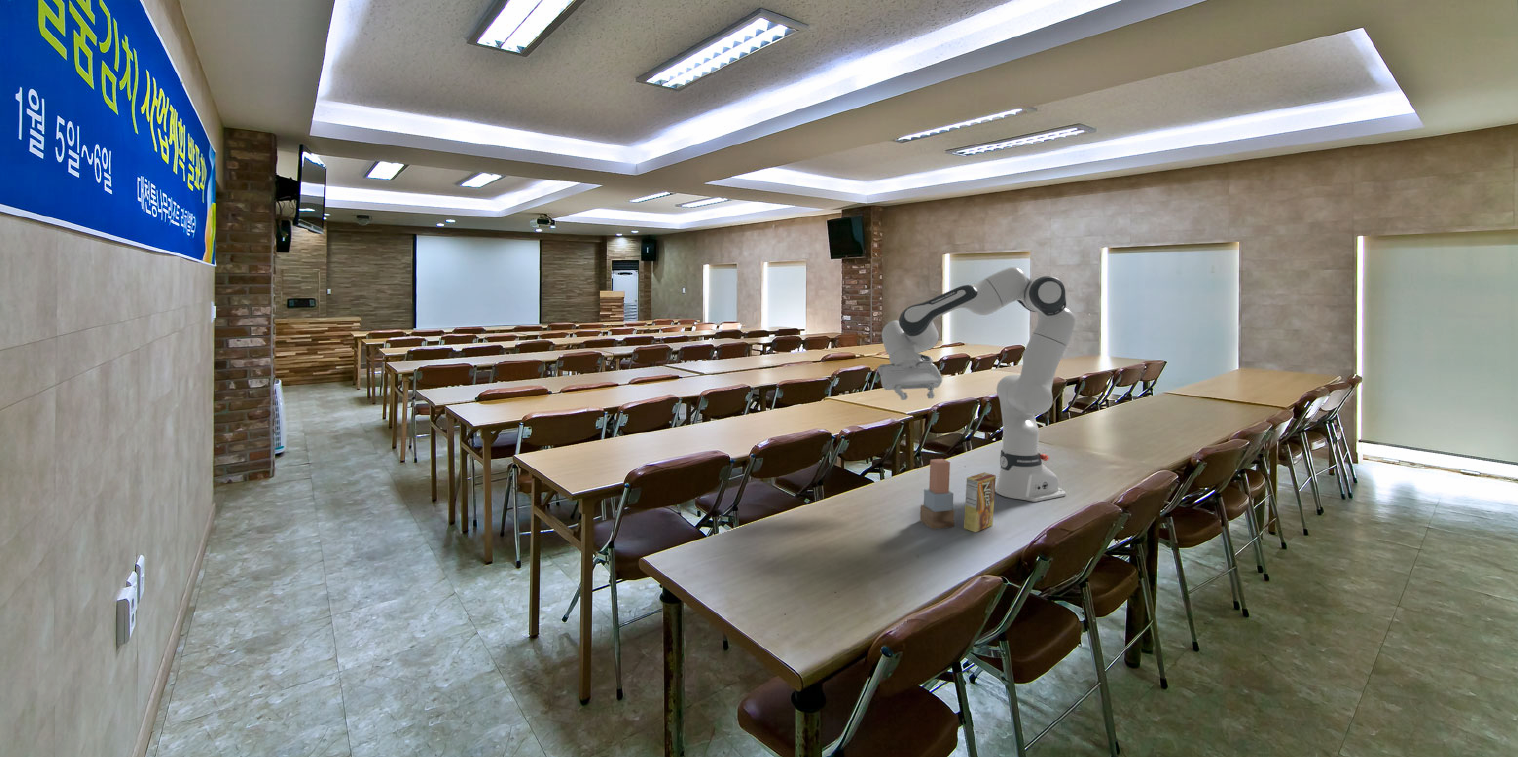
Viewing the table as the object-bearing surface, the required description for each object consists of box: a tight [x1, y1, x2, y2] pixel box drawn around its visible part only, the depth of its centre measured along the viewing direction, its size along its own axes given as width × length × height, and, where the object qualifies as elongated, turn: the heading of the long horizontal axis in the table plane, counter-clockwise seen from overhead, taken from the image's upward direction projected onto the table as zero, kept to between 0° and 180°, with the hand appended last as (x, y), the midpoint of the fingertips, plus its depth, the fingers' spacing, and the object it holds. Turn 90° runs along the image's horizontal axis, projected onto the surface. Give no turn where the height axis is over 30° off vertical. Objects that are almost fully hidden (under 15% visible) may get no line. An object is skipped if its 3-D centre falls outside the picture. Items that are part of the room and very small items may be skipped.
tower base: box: [919, 504, 955, 530], centre depth 199 cm, size 7×7×5 cm
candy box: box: [963, 472, 997, 533], centre depth 195 cm, size 9×4×15 cm, turn 129°
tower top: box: [923, 488, 954, 512], centre depth 198 cm, size 6×6×5 cm
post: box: [928, 458, 951, 494], centre depth 197 cm, size 4×4×9 cm
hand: (918, 398), depth 216 cm, fingers open, 8 cm apart
